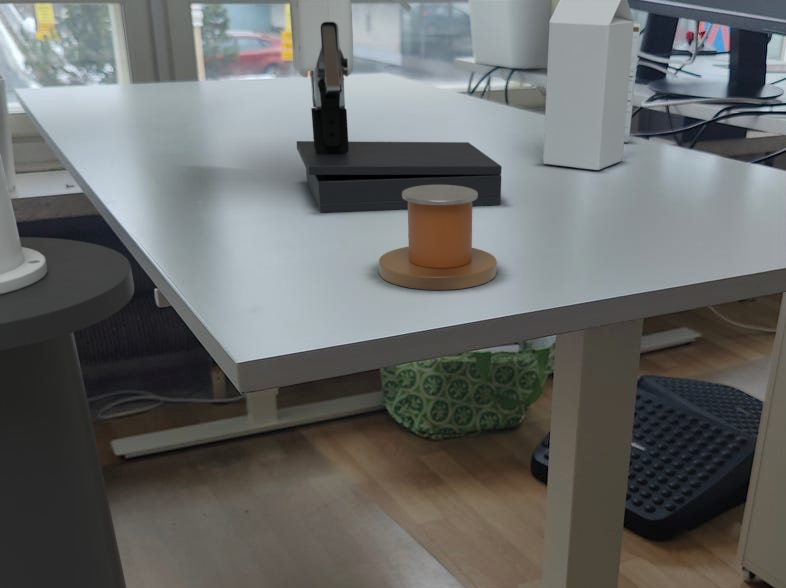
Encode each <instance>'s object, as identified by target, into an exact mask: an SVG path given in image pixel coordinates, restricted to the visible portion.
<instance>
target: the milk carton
mask: <svg viewBox="0 0 786 588" xmlns="http://www.w3.org/2000/svg"><path fill="white" fill-rule="evenodd" d="M634 21H635V20H634V17H633V14H632V10H631V7H630V4H629V1H628V0H559V1H558V3H557V4H556V7H555V9H554V11H553V13H552V15H551V17H550V19H549V21H548V22H549V24H548V45H547V47H548V49H547V70H546V91H545V113H544V114H545V115H544V133H543V157H542V158H543V160H542V163H543V164H545V165H551V166H560V167H568V168H577V169H584V170H591V171H592V170H594V171H600V170H602V169H604V168H607V167H609V166H612V165H615V164H617V163H620V162H622V161H623V158H624V157H623V156H624V146H625V145H624V144H625V142H624V134H625V123H626V111H627V99H628V87H629V76H630V64H631V52H632V40H633V28H634Z"/></svg>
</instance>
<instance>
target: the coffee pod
mask: <svg viewBox="0 0 786 588" xmlns="http://www.w3.org/2000/svg"><path fill="white" fill-rule="evenodd" d="M402 197H403V199H405V200H407V201H408V209H407V227H408V228H407V231H408V232H407V233H408V234H407V235H408V237H407V239H408V247H409V260H410V262H411V263H413V264H415V265H418V266H422V267H428V268H454V267H459V266H463V265H466V264H468V263H470V262H471V260H472V248H473V206H472V201H474V200H476V199H477V197H478V193H477V191H476V190H474V189H471V188H468V187H463V186H456V185H422V186H415V187H411V188H408V189H405V190H404V191H403V192H402Z"/></svg>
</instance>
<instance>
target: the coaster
mask: <svg viewBox="0 0 786 588" xmlns="http://www.w3.org/2000/svg"><path fill="white" fill-rule="evenodd" d="M497 263H498V261H497V259H496V257H495V256H494V255H493V254H492V253H489V252H487V251H485V250H483V249H479V248H475V247H472V260H471V262H470V263H468V264H466V265H463V266H459V267H454V268H428V267H422V266H418V265H415V264H413V263H411V262H410V260H409V246H404V247H400V248H396V249H393V250H390V251H388V252H387V251H386V252H385V253H383V254H382V255H381V256H380V257H379V260H378V271H379V276H380V277H381V278H382V279H383V280H384V281H386V282H388V283H390V284H393V285H397V286H399V287H403V288H409V289H416V290H424V291H425V290H426V291H449V290H450V291H452V290H462V289H468V288H473V287H477V286H481V285H484V284H487V283H488V282H490V281H492V280H493V279H494V278H495V277H496V276H497V265H498V264H497Z"/></svg>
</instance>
